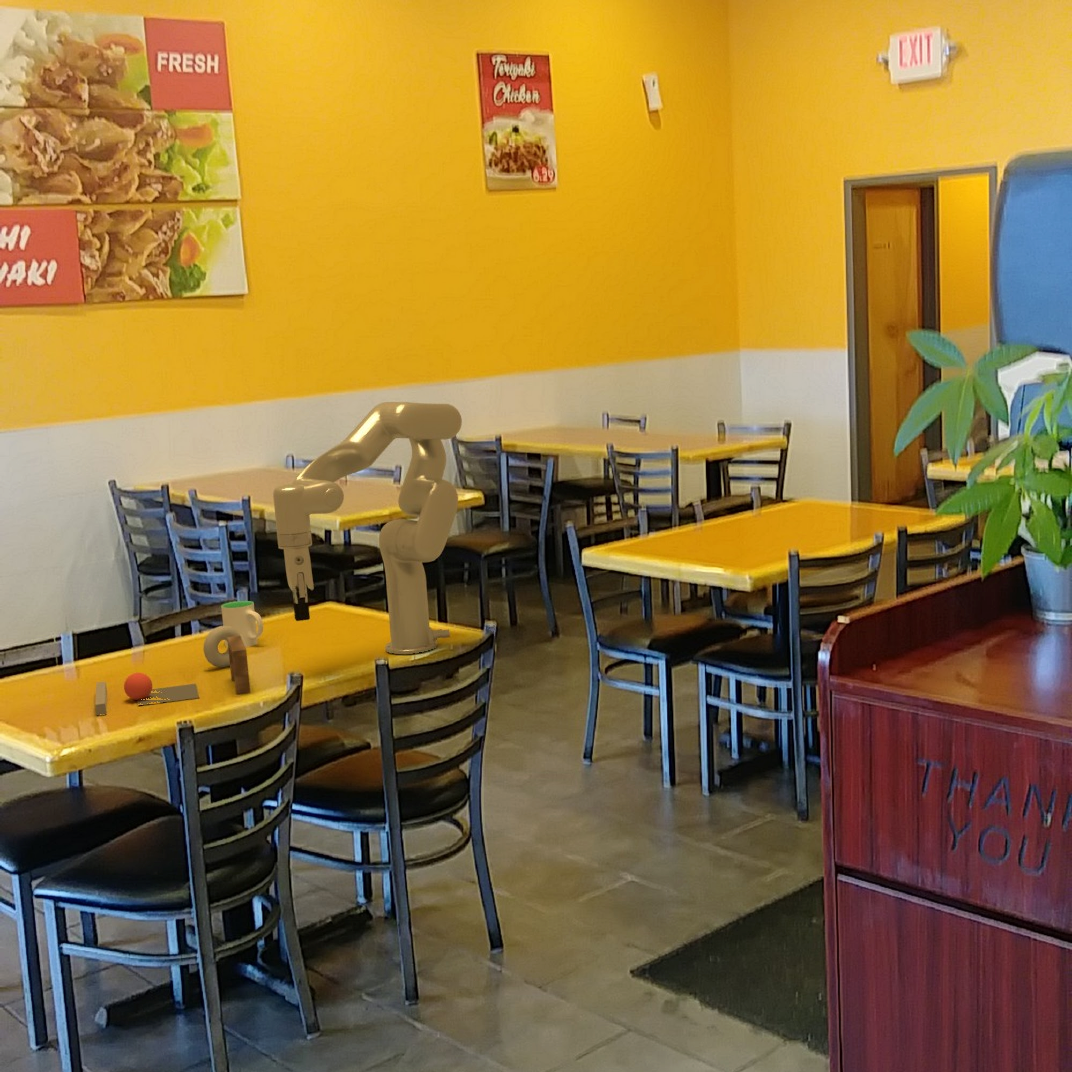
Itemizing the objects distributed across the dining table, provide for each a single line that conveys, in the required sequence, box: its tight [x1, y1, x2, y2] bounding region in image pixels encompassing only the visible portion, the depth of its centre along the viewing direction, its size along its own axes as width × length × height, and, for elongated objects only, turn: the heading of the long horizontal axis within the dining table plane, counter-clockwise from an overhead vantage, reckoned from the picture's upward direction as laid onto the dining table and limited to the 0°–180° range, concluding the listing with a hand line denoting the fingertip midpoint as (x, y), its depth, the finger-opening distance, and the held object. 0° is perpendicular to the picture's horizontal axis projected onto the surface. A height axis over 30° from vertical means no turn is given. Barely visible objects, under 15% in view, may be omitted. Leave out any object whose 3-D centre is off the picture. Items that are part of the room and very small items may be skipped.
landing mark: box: [136, 683, 200, 706], centre depth 313 cm, size 13×13×1 cm
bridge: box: [227, 636, 251, 695], centre depth 316 cm, size 3×15×10 cm, turn 16°
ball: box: [123, 672, 153, 701], centre depth 310 cm, size 6×6×6 cm
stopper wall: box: [94, 681, 108, 716], centre depth 309 cm, size 2×20×2 cm, turn 16°
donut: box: [203, 625, 240, 668], centre depth 335 cm, size 10×4×10 cm, turn 133°
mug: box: [220, 600, 264, 648], centre depth 357 cm, size 12×8×10 cm
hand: (302, 619), depth 319 cm, fingers closed
